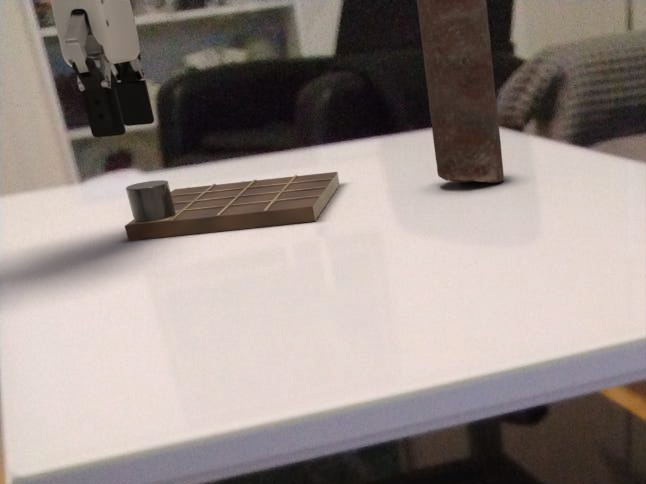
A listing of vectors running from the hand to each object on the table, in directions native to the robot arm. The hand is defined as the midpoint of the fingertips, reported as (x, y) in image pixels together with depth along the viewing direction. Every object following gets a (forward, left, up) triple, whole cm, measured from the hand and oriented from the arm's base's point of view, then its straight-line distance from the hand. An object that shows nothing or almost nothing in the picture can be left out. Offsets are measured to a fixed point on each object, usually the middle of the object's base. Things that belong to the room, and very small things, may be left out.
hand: (125, 129), depth 103 cm
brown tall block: (+34, +10, -10) cm, 37 cm away
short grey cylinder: (+1, +1, -9) cm, 9 cm away
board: (+8, +8, -10) cm, 15 cm away
